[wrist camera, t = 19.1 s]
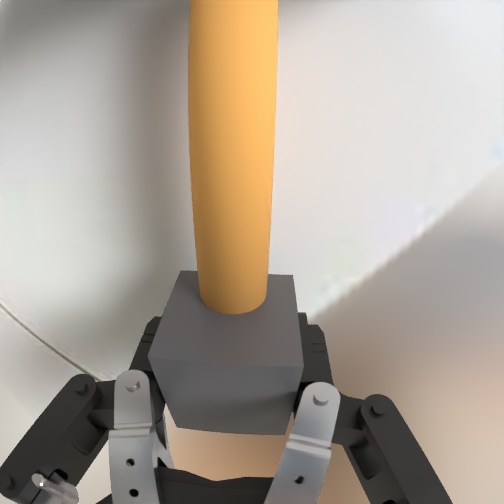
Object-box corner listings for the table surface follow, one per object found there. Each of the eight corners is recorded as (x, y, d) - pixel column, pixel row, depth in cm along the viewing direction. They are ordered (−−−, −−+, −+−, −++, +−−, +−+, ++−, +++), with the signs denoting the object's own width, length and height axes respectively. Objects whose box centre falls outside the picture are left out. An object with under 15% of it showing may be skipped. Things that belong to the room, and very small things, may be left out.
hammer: (193, 350, 14) (176, 427, 10) (172, -36, 6) (119, -94, 2) (282, 355, 14) (284, 434, 10) (309, -39, 5) (337, -109, 2)
